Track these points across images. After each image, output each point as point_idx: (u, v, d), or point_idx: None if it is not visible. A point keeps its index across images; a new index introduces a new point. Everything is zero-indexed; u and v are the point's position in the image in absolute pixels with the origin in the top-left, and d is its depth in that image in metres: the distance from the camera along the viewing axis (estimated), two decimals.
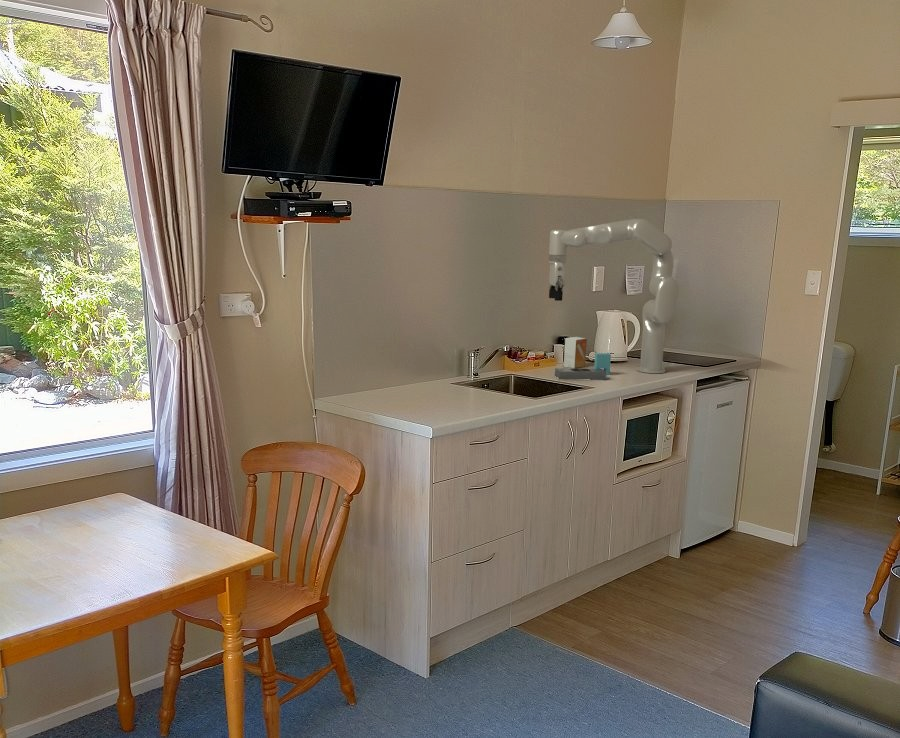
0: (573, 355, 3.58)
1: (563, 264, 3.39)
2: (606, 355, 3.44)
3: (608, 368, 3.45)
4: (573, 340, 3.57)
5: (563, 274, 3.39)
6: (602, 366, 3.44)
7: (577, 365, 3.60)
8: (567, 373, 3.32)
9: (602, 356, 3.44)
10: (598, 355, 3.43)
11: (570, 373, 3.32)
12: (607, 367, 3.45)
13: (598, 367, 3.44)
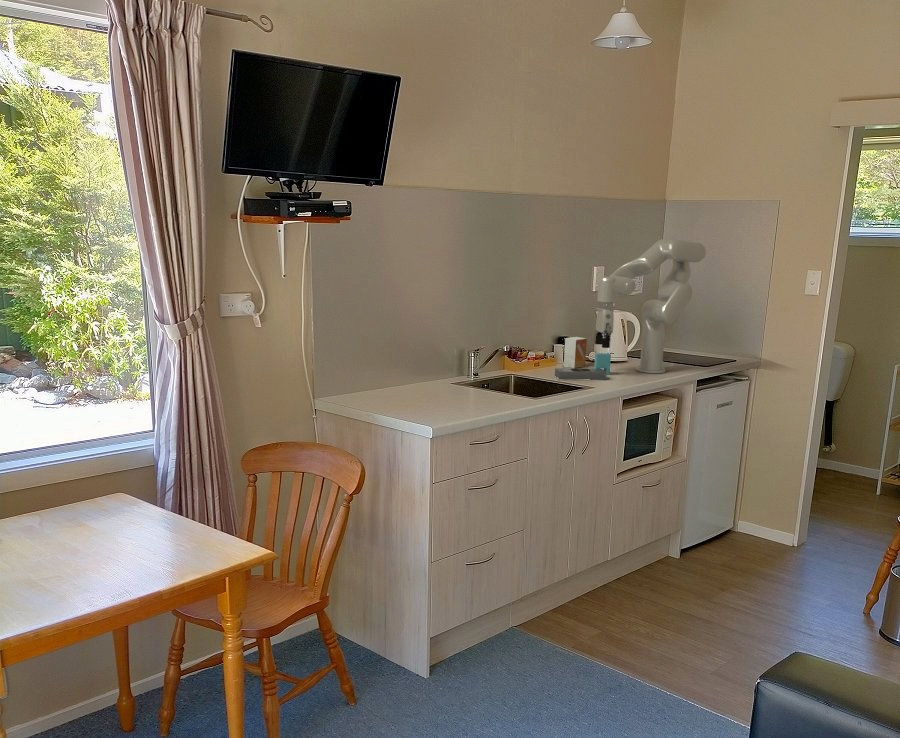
0: (573, 355, 3.58)
1: (612, 311, 3.37)
2: (606, 355, 3.44)
3: (608, 368, 3.45)
4: (573, 340, 3.57)
5: (611, 321, 3.37)
6: (602, 366, 3.44)
7: (577, 365, 3.60)
8: (567, 373, 3.32)
9: (602, 356, 3.44)
10: (598, 355, 3.43)
11: (570, 373, 3.32)
12: (607, 367, 3.45)
13: (598, 367, 3.44)
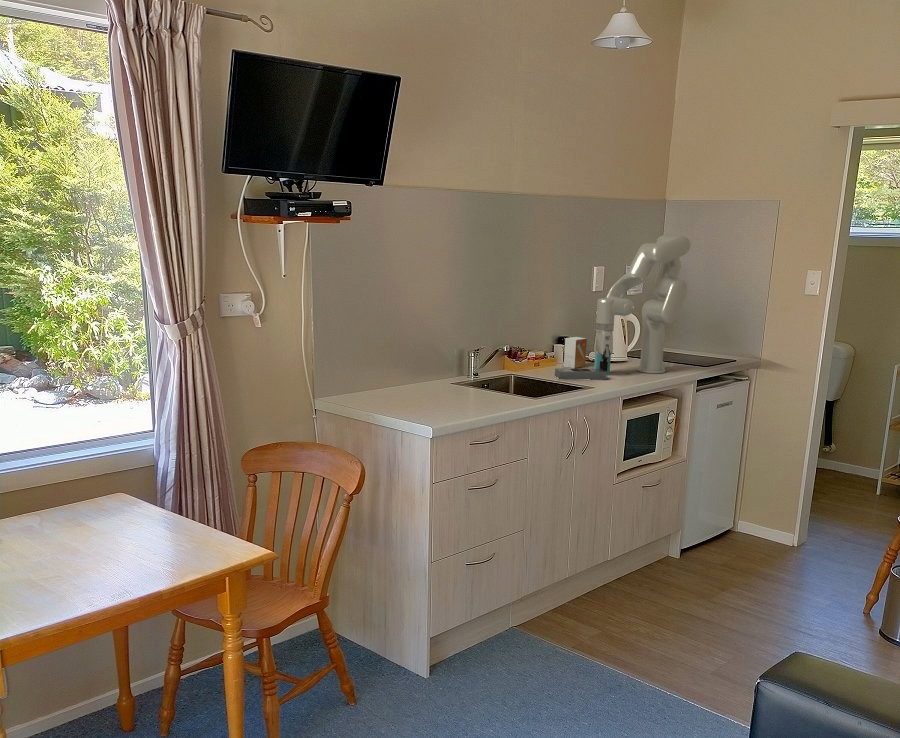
0: (573, 355, 3.58)
1: (611, 333, 3.39)
2: None
3: (608, 368, 3.45)
4: (573, 340, 3.57)
5: (611, 343, 3.39)
6: None
7: (577, 365, 3.60)
8: (567, 373, 3.32)
9: None
10: (598, 355, 3.43)
11: (570, 373, 3.32)
12: (607, 367, 3.45)
13: (598, 367, 3.44)
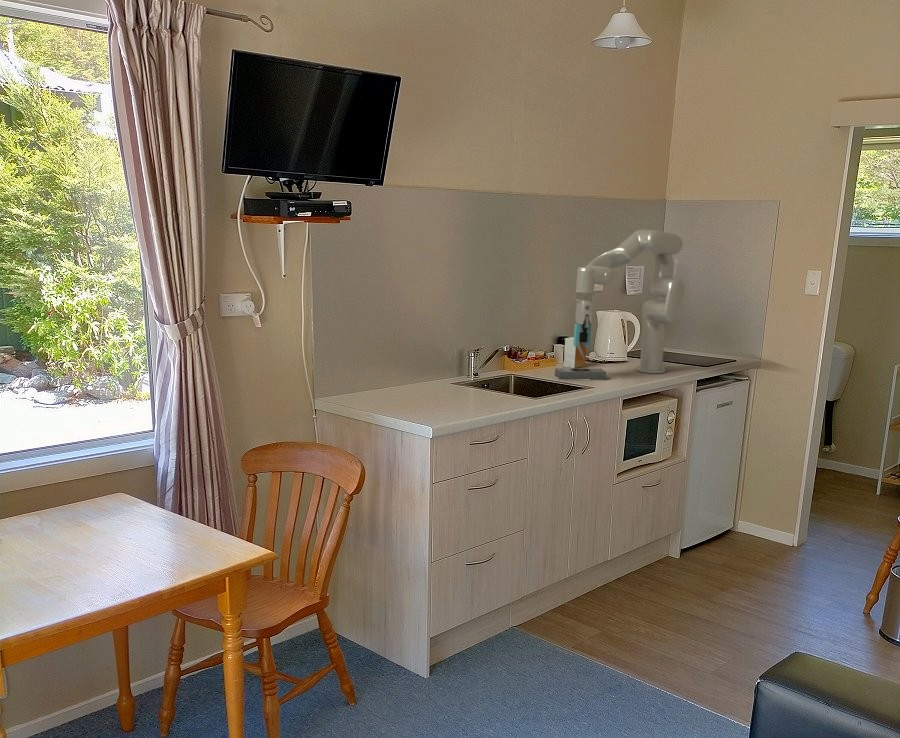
0: (573, 355, 3.58)
1: (591, 302, 3.27)
2: None
3: (588, 339, 3.32)
4: (573, 340, 3.57)
5: (591, 313, 3.27)
6: None
7: (577, 365, 3.60)
8: (567, 373, 3.32)
9: None
10: (578, 326, 3.31)
11: (570, 373, 3.32)
12: (587, 338, 3.32)
13: (578, 338, 3.32)
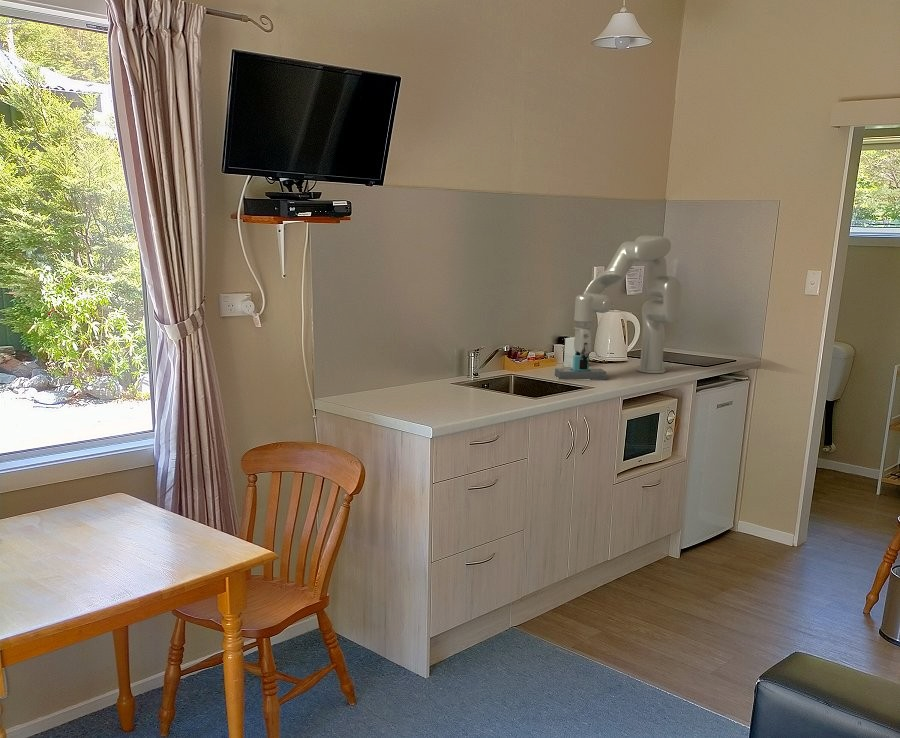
0: None
1: (589, 331, 3.29)
2: None
3: None
4: (573, 340, 3.57)
5: (589, 341, 3.29)
6: None
7: None
8: (567, 373, 3.32)
9: (580, 359, 3.34)
10: (576, 357, 3.33)
11: (570, 373, 3.32)
12: (585, 369, 3.35)
13: (576, 369, 3.34)
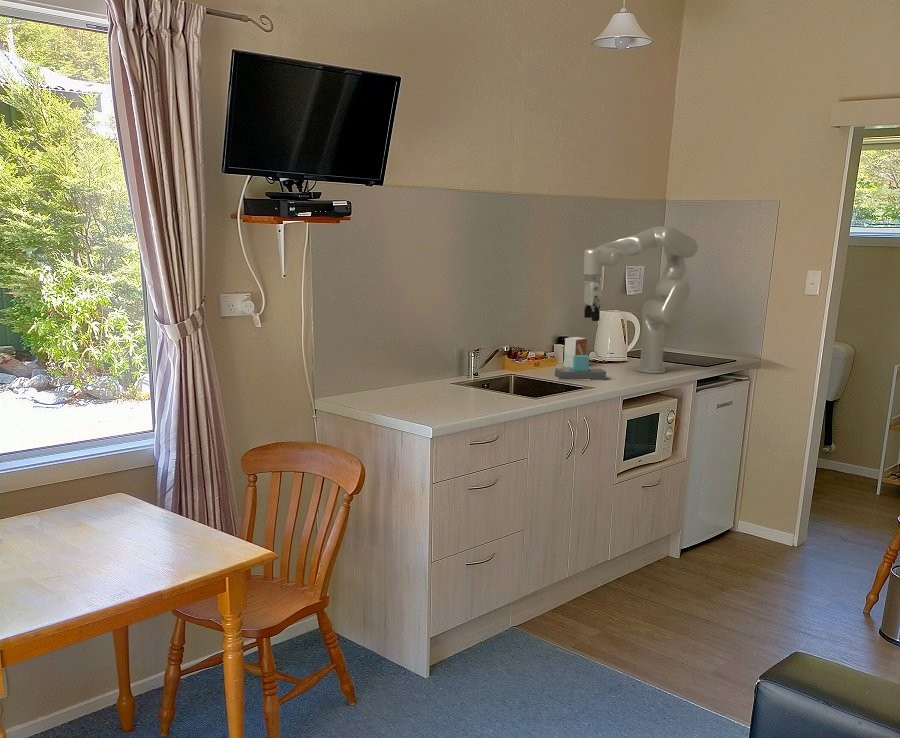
0: None
1: (599, 284, 3.33)
2: (584, 357, 3.34)
3: None
4: (573, 340, 3.57)
5: (599, 294, 3.33)
6: (580, 368, 3.35)
7: None
8: (567, 373, 3.32)
9: (580, 359, 3.34)
10: (576, 357, 3.33)
11: (570, 373, 3.32)
12: (585, 369, 3.35)
13: (576, 369, 3.34)
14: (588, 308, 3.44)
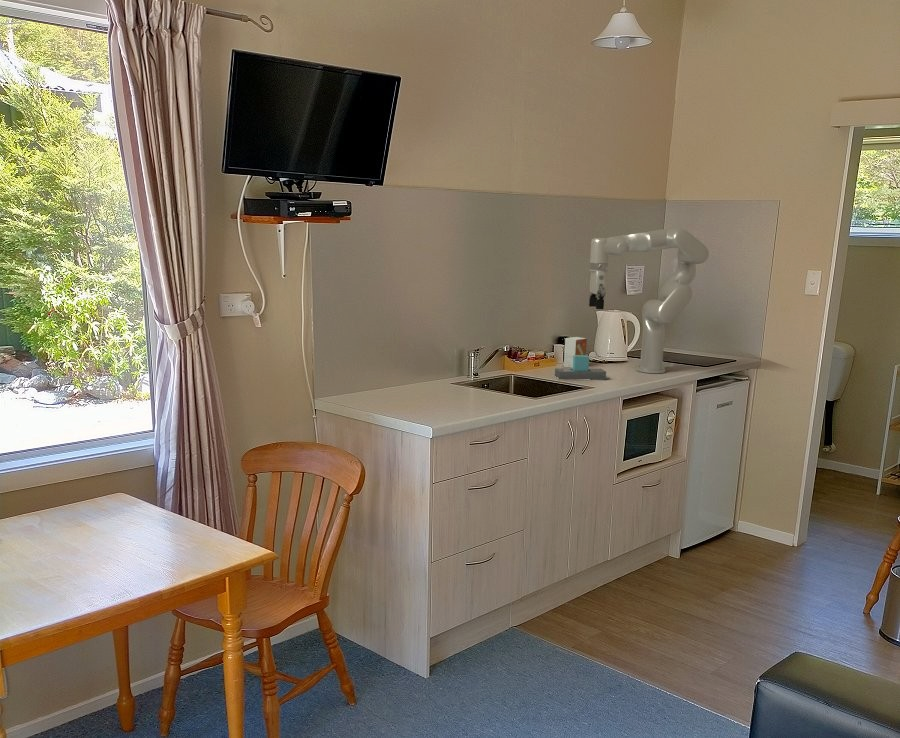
0: None
1: (605, 272, 3.38)
2: (584, 357, 3.34)
3: None
4: (573, 340, 3.57)
5: (605, 282, 3.38)
6: (580, 368, 3.35)
7: None
8: (567, 373, 3.32)
9: (580, 359, 3.34)
10: (576, 357, 3.33)
11: (570, 373, 3.32)
12: (585, 369, 3.35)
13: (576, 369, 3.34)
14: (593, 297, 3.49)
